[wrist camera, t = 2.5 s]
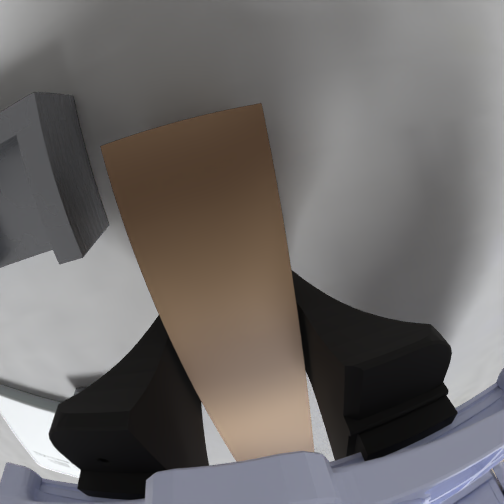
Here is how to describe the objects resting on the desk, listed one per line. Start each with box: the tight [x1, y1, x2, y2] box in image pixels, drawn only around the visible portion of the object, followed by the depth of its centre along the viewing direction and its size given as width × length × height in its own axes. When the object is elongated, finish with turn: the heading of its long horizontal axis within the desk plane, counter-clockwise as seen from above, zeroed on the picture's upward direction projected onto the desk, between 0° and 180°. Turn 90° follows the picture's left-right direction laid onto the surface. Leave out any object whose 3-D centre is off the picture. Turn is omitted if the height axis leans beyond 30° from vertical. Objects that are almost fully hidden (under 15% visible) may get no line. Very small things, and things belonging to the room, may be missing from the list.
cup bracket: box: [0, 92, 109, 268], centre depth 9 cm, size 6×8×3 cm
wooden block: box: [100, 103, 314, 462], centre depth 11 cm, size 14×4×5 cm, turn 11°
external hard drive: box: [0, 384, 81, 478], centre depth 17 cm, size 2×8×12 cm
